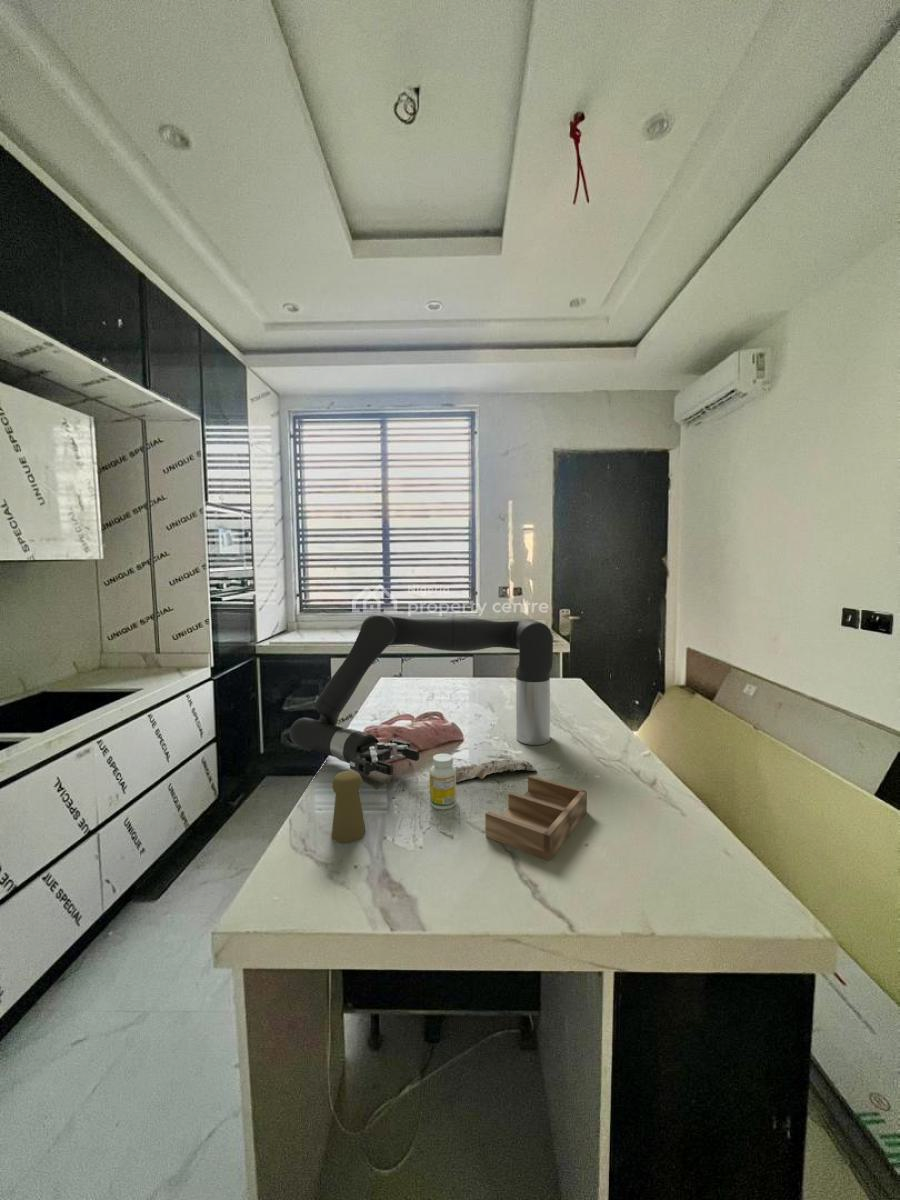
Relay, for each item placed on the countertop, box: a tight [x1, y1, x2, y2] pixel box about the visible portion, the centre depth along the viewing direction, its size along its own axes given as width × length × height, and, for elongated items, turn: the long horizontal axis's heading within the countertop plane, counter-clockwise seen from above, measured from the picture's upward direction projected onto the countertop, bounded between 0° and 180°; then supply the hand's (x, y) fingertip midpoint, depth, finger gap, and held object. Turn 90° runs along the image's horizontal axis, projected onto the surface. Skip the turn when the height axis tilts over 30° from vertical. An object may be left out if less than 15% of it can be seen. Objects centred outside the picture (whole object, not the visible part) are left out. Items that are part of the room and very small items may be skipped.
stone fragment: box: [454, 758, 538, 783], centre depth 104 cm, size 25×3×10 cm
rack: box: [484, 774, 588, 862], centre depth 83 cm, size 18×12×4 cm, turn 144°
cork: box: [331, 770, 367, 844], centre depth 80 cm, size 6×6×11 cm
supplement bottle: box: [429, 753, 457, 810], centre depth 90 cm, size 5×5×10 cm
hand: (405, 762), depth 96 cm, fingers open, 8 cm apart
